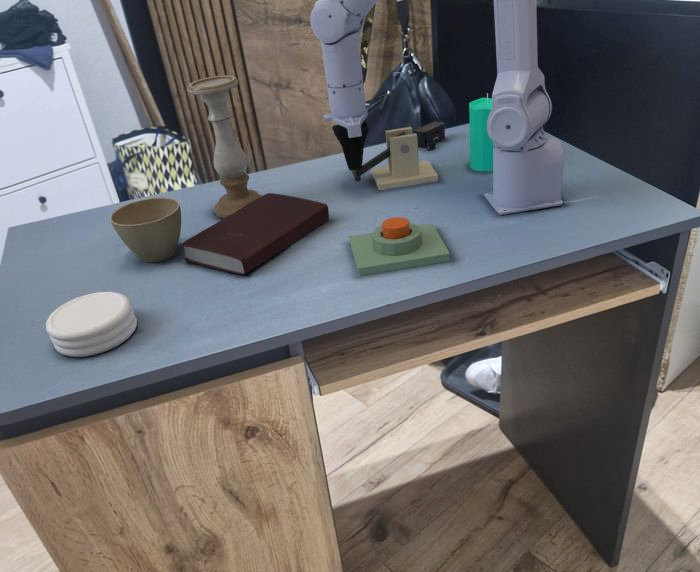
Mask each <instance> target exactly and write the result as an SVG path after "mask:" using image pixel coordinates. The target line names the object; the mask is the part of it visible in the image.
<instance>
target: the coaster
mask: <svg viewBox="0 0 700 572" xmlns="http://www.w3.org/2000/svg"><path fill="white" fill-rule="evenodd" d="M137 325H138V319H137V316H136V315H135V311H134V309H133V307H132V302H131V300H130V299H129V298H128V297H127V296H126V295H124V294H123V293H119V292H115V291H97V292H92V293H89V294H84V295H81V296H78V297H76V298H73V299H71V300H69V301H67V302H65V303H63V304H62V305H60V306H59V307H57V308H56V309H54V310H53V311H52V312H51V314H50V315H49V316H48V318H47V320H46V322H45V330H46V332H47V334H48V335H49V339H50V341H51V343H52V344H53V348H54V349H55V350H56V351H57V353H59V354H61V355H63V356H65V357H66V356H67V357H71V358H84V357H85V358H86V357H92V356H95V355H99V354H102V353H105V352H107V351H110V350H113V349H114V348H116V347H119V346H120V345H121V344H123V343H125V342H126V341H127V340H128V339H129V338H130V337H131V336H132V335H133V333H134V332H135V330H136V328H137Z"/></svg>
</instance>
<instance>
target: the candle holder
mask: <svg viewBox="0 0 700 572" xmlns="http://www.w3.org/2000/svg"><path fill="white" fill-rule="evenodd" d="M238 85H239V80H238V78H237V77H236V76H234V75H215V76H210V77H209V76H208V77H205V78H200V79H197V80H194V81H192V82H190V83H189V84H188V85H187V87H186V89H187V93H188V94H189V95H192V96H193V95H195V96H200V98H201V101H202V102H203V103H205V104H206V105H207V107H208V110H209V112H208V116H207V121H208V122H211V124H212V128H213V132H214V136H215V137H214V138H215V148H214V152H213V153H214V154H213V159H212V160H213V162H212V164H213V167H214V169H215V171H216V172H217V174H218V175H220V176H221V178H220V180H219V184H220V186H222V187H223V188H224V189H225V191H226V193H225V194H223V195H222V196H220V197H219V199H218V202H217V203H216V204H215V205H214V207H213V210H214V214H215V216H217V217H218V218H220V219H224V218H226V217H227V216H229V215H231V214H233V213H234V212H236V211H238V210H239V209H241V208H242V207H244V206H246V205H247V204H249V203H251V202H253V201H254V200H256V199H258V198H260V197H261V196H263V194H261V193H259V192H258V191H257V190H255V189H249V188H248V184H249V183H248V182H249V180H250V176H249V175H248V173H246V170H247V168H248V163H249V162H248V157H247V155H246V153H245V151H244V150H243V149H242V148H243V147H241V145H240V144H239V143H238V141H237V139H236V137H235V134H234V131H233V127H232V123H231V118H233V115H234V114H233V113H232V112H231V111H230V110H229V108H228V106H227V102H228V99H229V98H230V93H229V90H233V89H234V88H236V87H237V86H238Z"/></svg>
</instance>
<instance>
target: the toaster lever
mask: <svg viewBox="0 0 700 572" xmlns="http://www.w3.org/2000/svg"><path fill="white" fill-rule="evenodd" d="M403 135H407V134H406V133H405V132H402V133H401V134H399V135H398V136H403ZM390 156H391V152H390V147H389V148H388V149H387V148H386V149H385V150H383V151H381V152H380V153H379V154H377V155H375V156H374V157H373V158H371V159H370V160H368V161H366V162H365V163H364V164H362V168H361V169H358V170H351V171H350V172H351V174H352V177H353V181H354V182H355V183H359V182H361V181H362V177H361V176H362V175H364V174H365V173H367V172H369V171H371V170H372V169H374V168H375V167H376V166H377V165H379V164H380V163H382V162H383V161H385V160H388V157H390Z"/></svg>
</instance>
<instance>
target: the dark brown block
mask: <svg viewBox="0 0 700 572" xmlns="http://www.w3.org/2000/svg"><path fill="white" fill-rule="evenodd" d="M445 125H446V124H445V122H444V121H443V122H441V121H432V122H430V123H428V124H426V125H423V126H421V127H419V128H416V129H414V131H413V132H414V134H415V133H416V134H417V142H418V148H420V149H426V150H427V151H431V150H433V149H435V148H436V147H437V144H438V143H440V142H441V141H444V140H445V139H446V126H445Z"/></svg>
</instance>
